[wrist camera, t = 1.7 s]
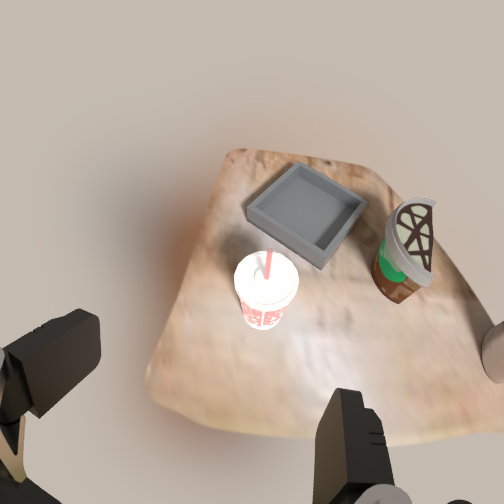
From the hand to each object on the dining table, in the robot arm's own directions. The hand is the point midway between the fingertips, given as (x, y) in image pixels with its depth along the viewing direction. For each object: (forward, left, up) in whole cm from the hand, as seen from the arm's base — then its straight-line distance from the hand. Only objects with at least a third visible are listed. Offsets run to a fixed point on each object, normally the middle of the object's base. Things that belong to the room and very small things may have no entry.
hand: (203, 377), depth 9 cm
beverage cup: (+5, -11, -25) cm, 28 cm away
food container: (-5, -26, -25) cm, 36 cm away
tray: (+9, -26, -25) cm, 37 cm away
